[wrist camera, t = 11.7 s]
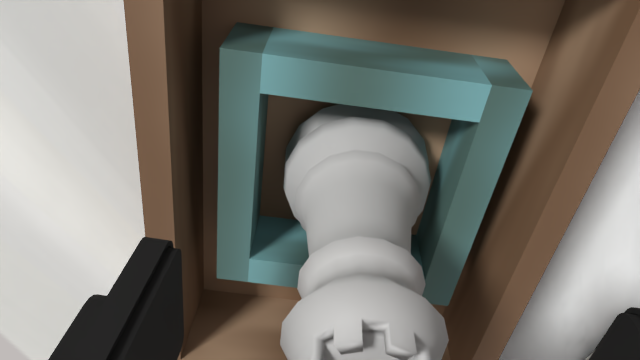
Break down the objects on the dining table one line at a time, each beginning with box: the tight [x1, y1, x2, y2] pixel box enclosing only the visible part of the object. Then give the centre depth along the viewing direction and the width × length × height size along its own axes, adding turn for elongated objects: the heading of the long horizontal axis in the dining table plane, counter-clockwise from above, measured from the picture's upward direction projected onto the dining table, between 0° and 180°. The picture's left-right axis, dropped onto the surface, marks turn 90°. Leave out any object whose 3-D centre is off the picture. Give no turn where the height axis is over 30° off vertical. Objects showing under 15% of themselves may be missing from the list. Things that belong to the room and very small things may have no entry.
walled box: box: [124, 0, 640, 360], centre depth 14 cm, size 11×15×4 cm
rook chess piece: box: [280, 104, 449, 360], centre depth 12 cm, size 4×4×8 cm
